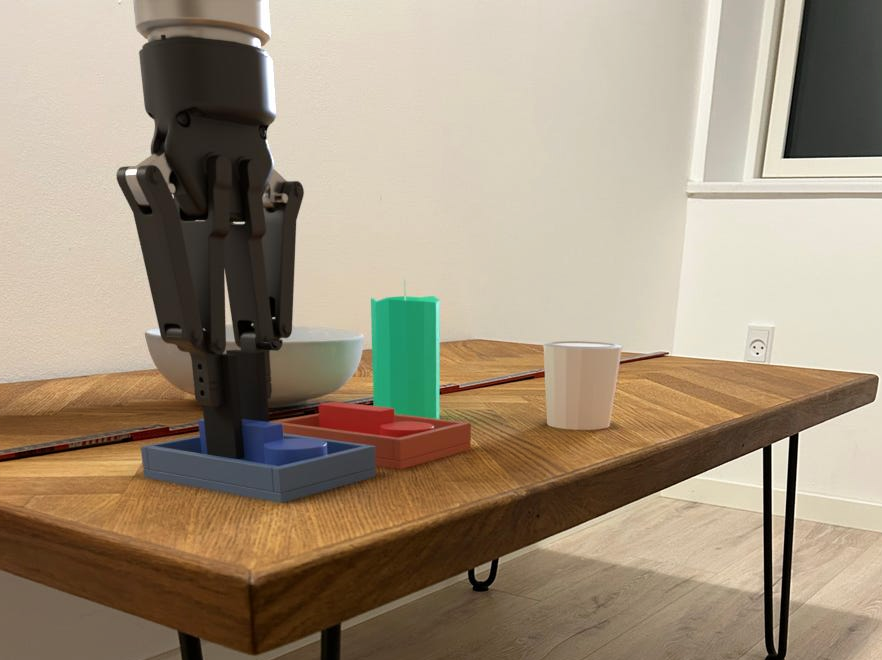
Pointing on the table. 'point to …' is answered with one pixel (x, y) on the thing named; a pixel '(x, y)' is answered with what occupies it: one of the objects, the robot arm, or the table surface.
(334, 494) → the table surface
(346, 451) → the blue tray
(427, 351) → the candle
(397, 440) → the red tray
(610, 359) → the white cup
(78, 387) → the table surface
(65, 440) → the table surface
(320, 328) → the serving bowl
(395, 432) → the red rounded step block
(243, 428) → the blue rounded step block
